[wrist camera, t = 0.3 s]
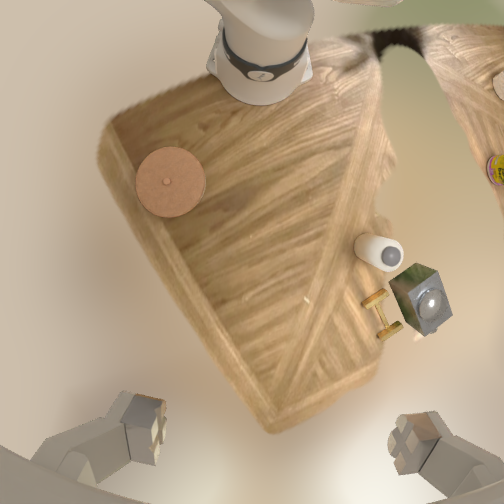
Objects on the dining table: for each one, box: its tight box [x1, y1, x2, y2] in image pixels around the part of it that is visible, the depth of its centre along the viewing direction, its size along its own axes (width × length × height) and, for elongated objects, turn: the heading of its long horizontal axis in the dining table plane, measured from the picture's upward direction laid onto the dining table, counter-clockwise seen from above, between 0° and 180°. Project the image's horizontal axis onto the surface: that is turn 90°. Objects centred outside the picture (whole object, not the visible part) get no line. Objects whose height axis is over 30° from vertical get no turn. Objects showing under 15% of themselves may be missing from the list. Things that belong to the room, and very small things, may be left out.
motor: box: [362, 263, 453, 342], centre depth 54 cm, size 13×14×9 cm
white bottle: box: [354, 233, 403, 272], centre depth 51 cm, size 5×5×11 cm
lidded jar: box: [135, 146, 206, 218], centre depth 49 cm, size 11×11×9 cm
